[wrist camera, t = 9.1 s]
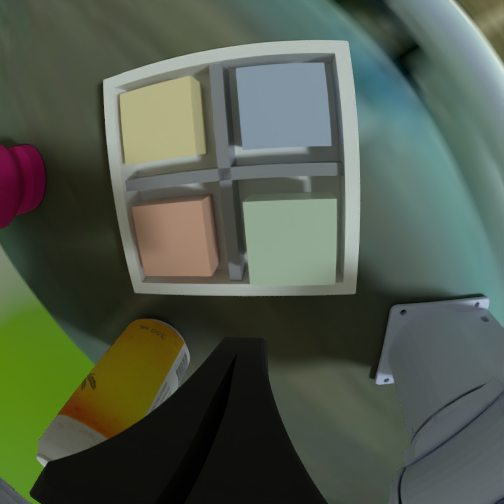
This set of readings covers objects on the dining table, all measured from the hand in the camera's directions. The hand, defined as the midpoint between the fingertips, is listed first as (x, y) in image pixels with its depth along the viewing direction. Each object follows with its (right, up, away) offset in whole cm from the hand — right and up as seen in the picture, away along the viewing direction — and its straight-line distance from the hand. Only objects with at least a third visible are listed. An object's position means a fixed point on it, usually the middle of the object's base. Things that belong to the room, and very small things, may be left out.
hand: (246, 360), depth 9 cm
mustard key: (-5, +12, +7) cm, 14 cm away
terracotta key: (-4, +5, +9) cm, 11 cm away
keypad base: (-1, +9, +8) cm, 12 cm away
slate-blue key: (+2, +12, +6) cm, 13 cm away
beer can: (-8, -4, +14) cm, 17 cm away
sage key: (+2, +5, +7) cm, 9 cm away
